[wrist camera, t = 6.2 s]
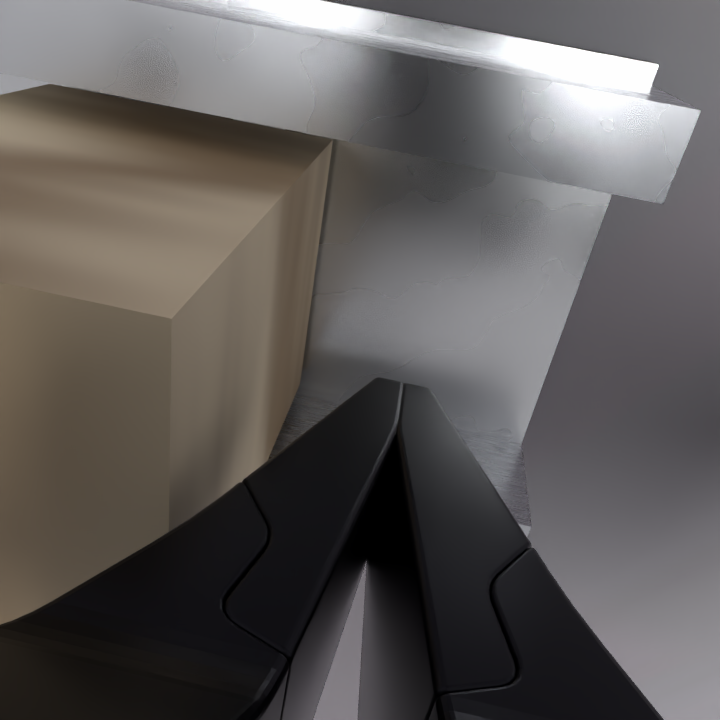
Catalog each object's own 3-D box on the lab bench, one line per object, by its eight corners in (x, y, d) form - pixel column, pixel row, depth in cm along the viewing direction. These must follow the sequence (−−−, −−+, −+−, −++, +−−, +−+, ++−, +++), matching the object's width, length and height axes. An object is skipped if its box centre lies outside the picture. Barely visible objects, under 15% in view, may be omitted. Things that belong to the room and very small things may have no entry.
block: (332, 139, 11) (171, 318, 5) (299, 383, 14) (166, 698, 8) (50, 83, 11) (-432, 191, 5) (69, 334, 14) (-238, 601, 8)
